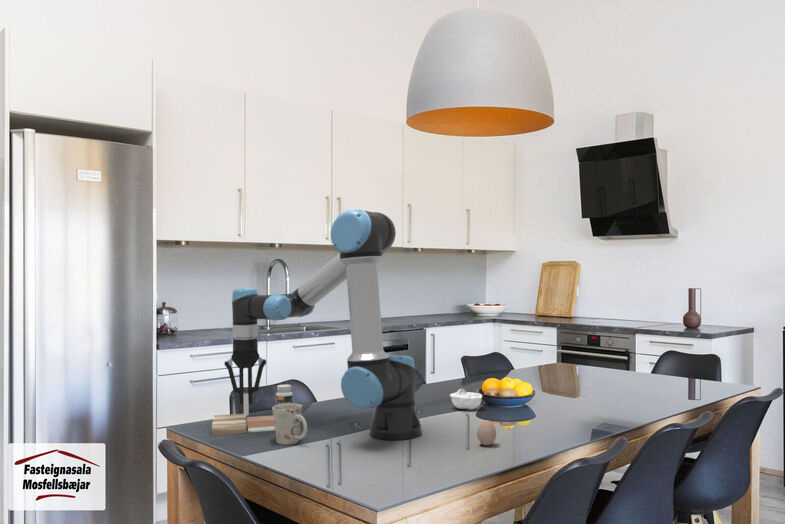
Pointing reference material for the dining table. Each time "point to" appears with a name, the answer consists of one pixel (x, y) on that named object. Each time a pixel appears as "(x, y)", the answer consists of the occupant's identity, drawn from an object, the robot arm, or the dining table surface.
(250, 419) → the tile
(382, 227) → the robot arm
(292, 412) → the mug
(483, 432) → the egg
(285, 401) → the pill bottle
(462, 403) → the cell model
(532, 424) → the dining table surface
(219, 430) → the tan wooden flat block
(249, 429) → the mat
